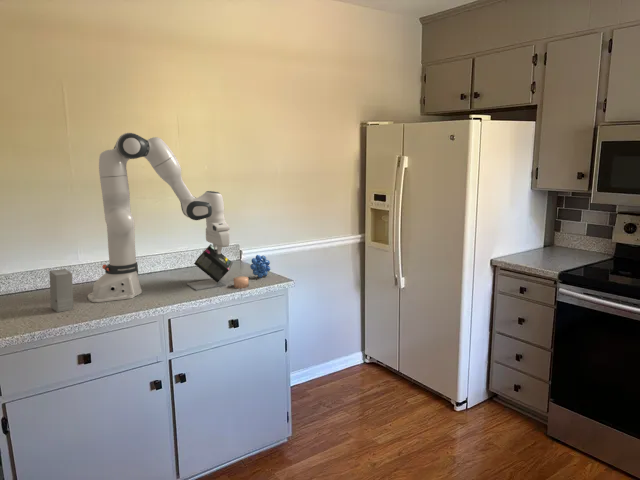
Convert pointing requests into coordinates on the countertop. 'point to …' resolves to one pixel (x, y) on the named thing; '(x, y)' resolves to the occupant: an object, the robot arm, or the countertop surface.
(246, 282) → the tan round lump
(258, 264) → the grapes
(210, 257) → the tampon box
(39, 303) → the countertop surface
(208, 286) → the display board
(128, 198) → the robot arm
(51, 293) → the skincare box
